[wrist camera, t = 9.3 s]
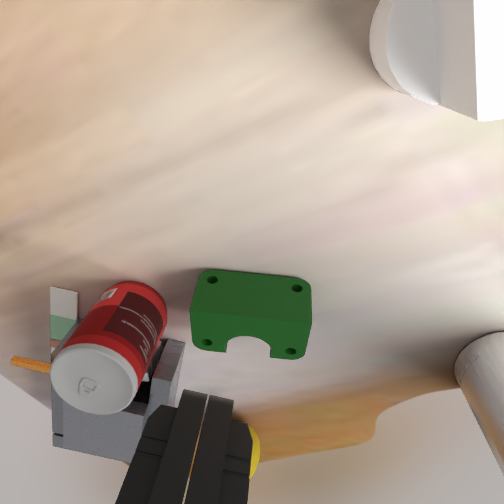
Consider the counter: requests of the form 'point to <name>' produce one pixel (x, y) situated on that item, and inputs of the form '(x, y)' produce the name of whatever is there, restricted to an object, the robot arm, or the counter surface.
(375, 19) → the white container
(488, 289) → the counter surface
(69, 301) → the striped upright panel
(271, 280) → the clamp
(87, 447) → the box
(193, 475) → the robot arm
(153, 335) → the canned food
